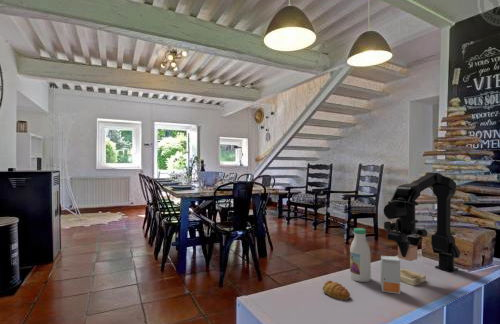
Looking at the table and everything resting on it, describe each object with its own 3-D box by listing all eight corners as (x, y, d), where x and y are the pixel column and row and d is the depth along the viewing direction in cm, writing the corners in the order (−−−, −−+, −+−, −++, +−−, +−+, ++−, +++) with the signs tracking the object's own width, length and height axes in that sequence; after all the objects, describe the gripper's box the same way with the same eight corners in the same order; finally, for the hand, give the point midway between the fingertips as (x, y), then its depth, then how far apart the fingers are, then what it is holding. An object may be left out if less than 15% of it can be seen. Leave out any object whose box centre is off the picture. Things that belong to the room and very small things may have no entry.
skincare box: (381, 292, 100) (381, 258, 100) (380, 287, 104) (380, 255, 104) (400, 294, 98) (400, 260, 98) (399, 289, 102) (398, 256, 102)
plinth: (403, 273, 118) (403, 268, 118) (425, 280, 110) (425, 275, 110) (390, 277, 113) (390, 272, 113) (412, 285, 105) (412, 279, 105)
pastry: (354, 298, 96) (354, 286, 96) (342, 303, 92) (342, 292, 92) (332, 288, 104) (332, 277, 104) (320, 293, 100) (320, 282, 100)
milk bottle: (367, 275, 116) (366, 227, 116) (373, 282, 108) (373, 231, 108) (348, 274, 116) (347, 226, 117) (353, 282, 109) (352, 230, 109)
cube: (405, 255, 115) (404, 243, 115) (417, 258, 111) (417, 246, 111) (397, 257, 113) (397, 245, 113) (410, 261, 108) (410, 248, 108)
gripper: (401, 212, 124) (401, 247, 123) (374, 215, 114) (375, 254, 114) (427, 215, 114) (428, 254, 114) (400, 220, 105) (401, 262, 104)
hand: (407, 255), depth 112 cm, fingers closed on cube, 5 cm apart
